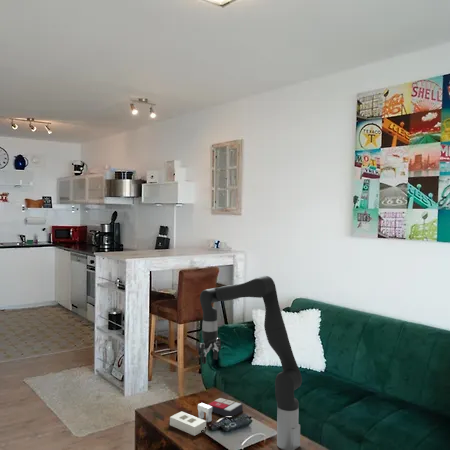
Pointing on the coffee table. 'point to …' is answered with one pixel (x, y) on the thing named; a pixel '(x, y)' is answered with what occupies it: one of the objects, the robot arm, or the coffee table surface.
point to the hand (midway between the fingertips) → (209, 361)
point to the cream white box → (187, 423)
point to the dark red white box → (226, 407)
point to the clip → (206, 409)
